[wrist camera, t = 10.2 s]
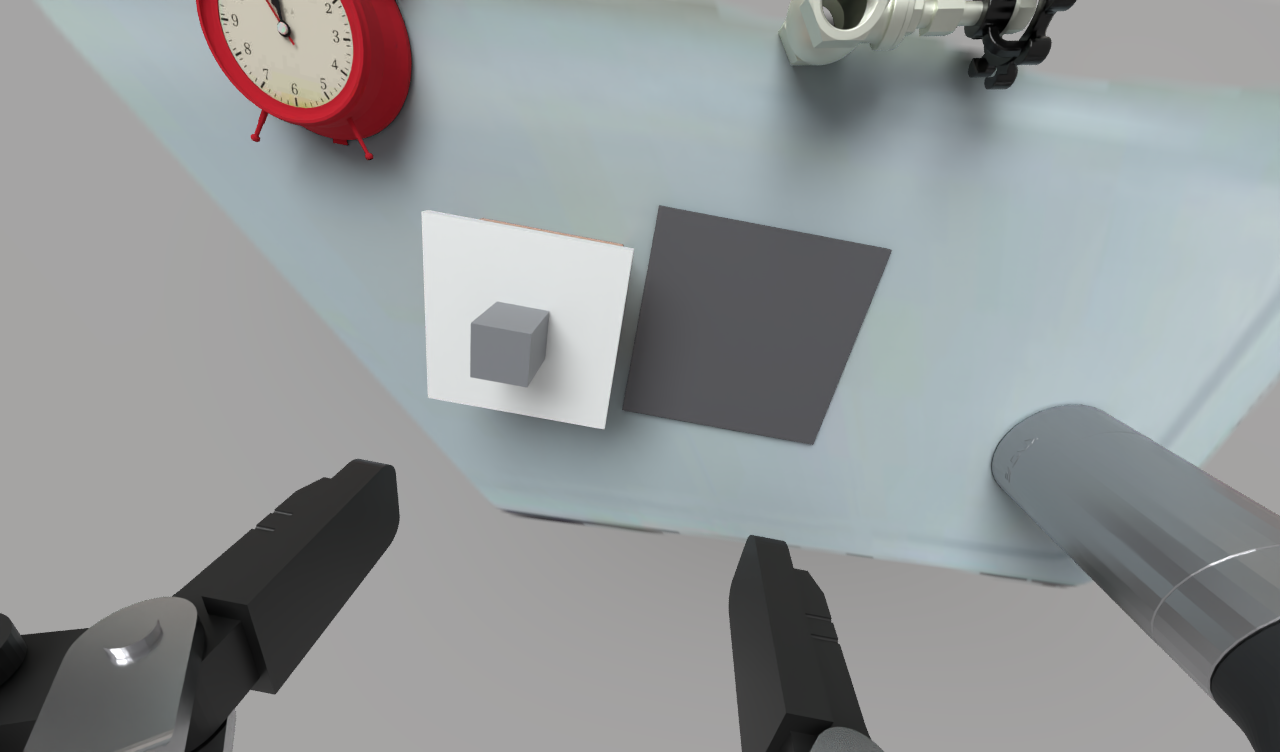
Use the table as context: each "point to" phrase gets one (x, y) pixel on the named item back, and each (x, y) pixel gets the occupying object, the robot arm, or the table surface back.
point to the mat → (747, 324)
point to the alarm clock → (314, 61)
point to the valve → (922, 30)
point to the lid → (522, 318)
